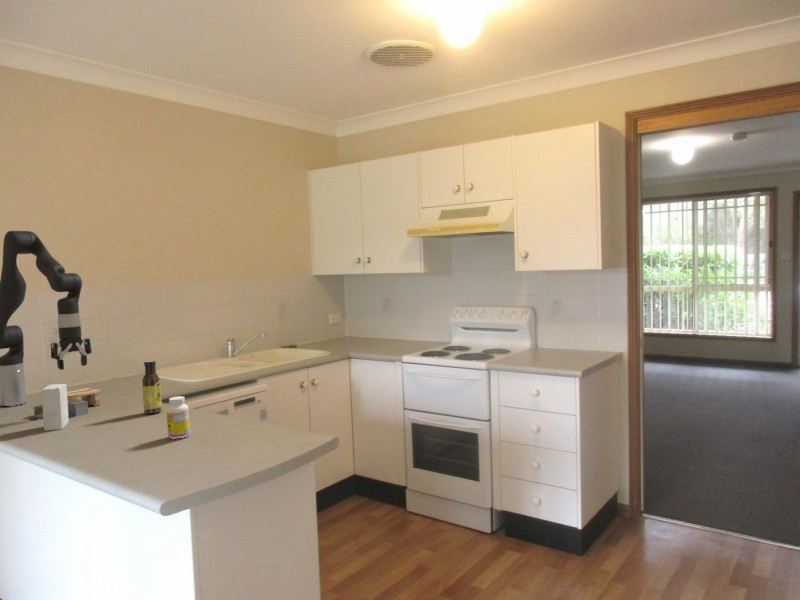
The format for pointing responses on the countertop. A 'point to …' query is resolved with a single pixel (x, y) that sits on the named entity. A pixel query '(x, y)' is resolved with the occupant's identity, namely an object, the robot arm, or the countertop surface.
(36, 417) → the rubber puck
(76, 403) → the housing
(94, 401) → the stand
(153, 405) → the sauce bottle
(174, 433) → the supplement bottle
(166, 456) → the countertop surface
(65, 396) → the skincare box
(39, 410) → the walnut block
